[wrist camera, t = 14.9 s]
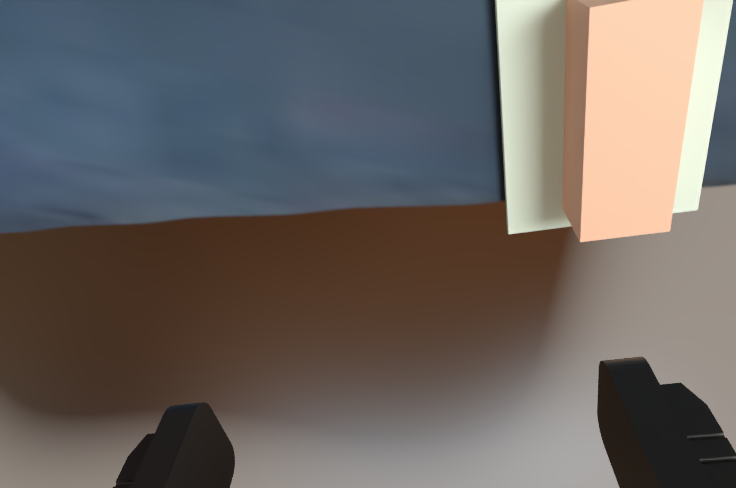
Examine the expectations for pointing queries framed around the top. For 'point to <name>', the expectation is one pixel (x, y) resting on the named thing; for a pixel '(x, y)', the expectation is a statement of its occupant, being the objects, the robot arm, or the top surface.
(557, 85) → the mat
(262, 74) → the top surface
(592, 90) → the peach rectangular slab
